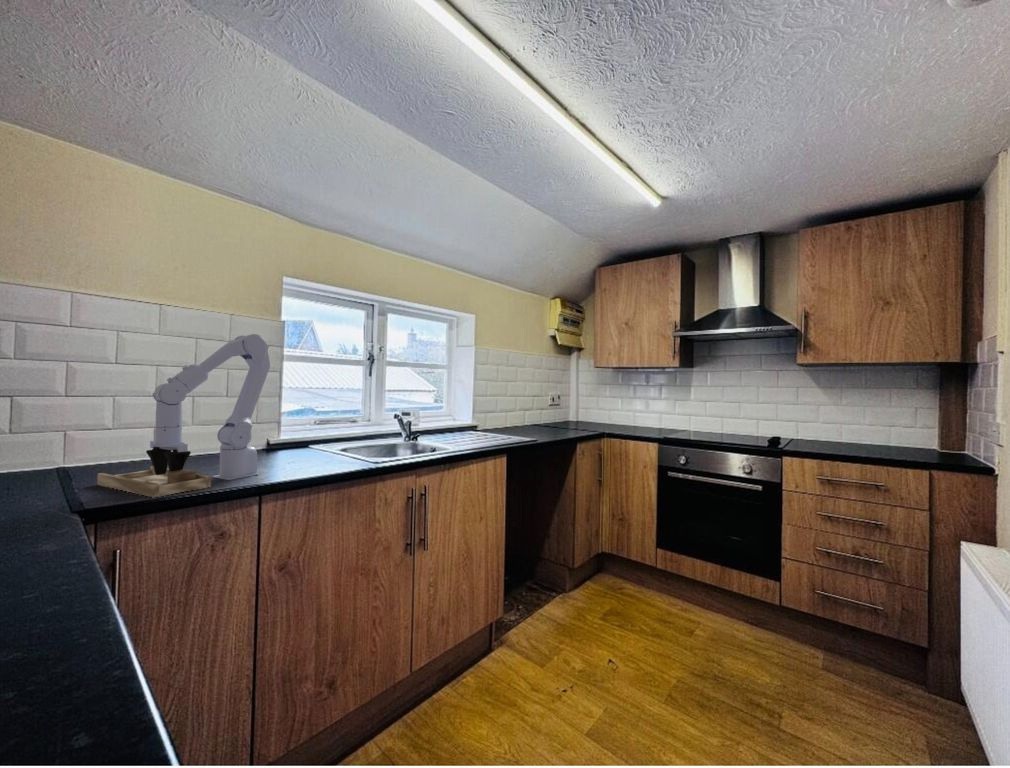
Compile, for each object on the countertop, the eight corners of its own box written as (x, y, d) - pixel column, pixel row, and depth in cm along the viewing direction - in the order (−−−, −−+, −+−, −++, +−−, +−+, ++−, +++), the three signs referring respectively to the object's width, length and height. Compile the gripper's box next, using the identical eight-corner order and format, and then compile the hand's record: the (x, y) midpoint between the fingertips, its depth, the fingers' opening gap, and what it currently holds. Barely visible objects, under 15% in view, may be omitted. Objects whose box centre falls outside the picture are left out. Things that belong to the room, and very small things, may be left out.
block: (186, 479, 118) (186, 468, 118) (195, 482, 116) (196, 471, 116) (167, 483, 114) (167, 471, 114) (176, 485, 112) (177, 474, 112)
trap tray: (154, 475, 129) (154, 465, 129) (210, 487, 117) (211, 475, 117) (97, 484, 117) (97, 473, 117) (153, 498, 105) (153, 485, 105)
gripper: (137, 426, 117) (136, 475, 117) (166, 429, 111) (165, 481, 111) (167, 424, 124) (166, 471, 124) (196, 427, 117) (195, 476, 117)
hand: (168, 475), depth 118 cm, fingers open, 7 cm apart
